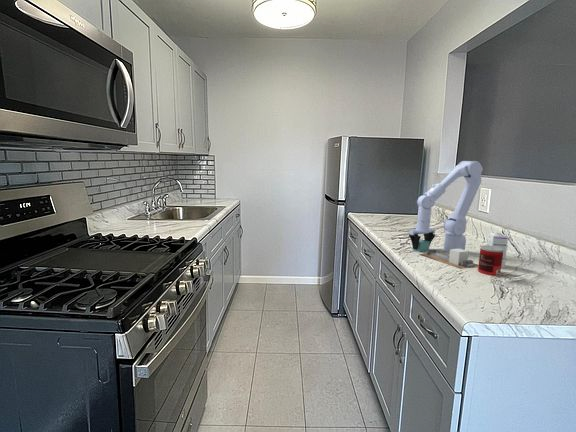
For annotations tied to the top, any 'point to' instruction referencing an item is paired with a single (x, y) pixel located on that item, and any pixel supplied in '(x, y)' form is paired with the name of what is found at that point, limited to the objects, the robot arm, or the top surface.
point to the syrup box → (499, 243)
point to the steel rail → (433, 253)
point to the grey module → (458, 256)
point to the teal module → (422, 245)
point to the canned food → (490, 260)
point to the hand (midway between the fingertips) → (420, 248)
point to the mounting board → (445, 261)
